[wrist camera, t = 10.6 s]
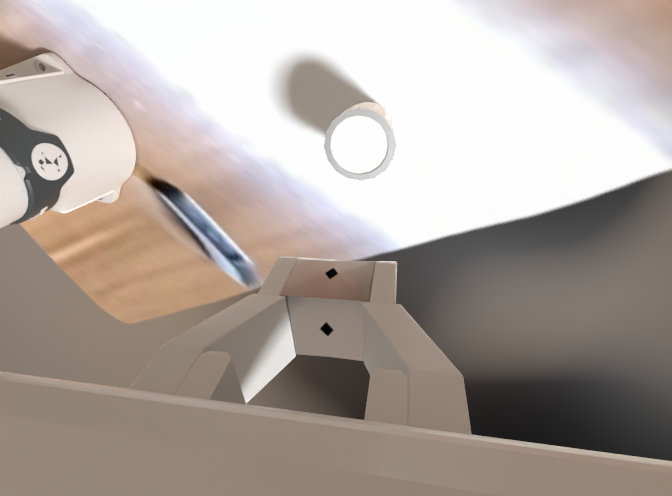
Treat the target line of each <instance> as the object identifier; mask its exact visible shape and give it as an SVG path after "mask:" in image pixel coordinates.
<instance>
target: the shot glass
mask: <svg viewBox="0 0 672 496" xmlns="http://www.w3.org/2000/svg"><path fill="white" fill-rule="evenodd" d="M395 146H396V144H395V138H394V133H393V127H392V122H391V117H390V116H389V114H388V113H387V111H386V109H385V108H383V107H382V106H380V105H379V104H377V103H373V102H362V103H359V104H356V105H354V106H352V107H351V108H349V109H347V110H346V111H344V112H343V113H341V114H340V115H339V116H338V117H336V118H335V119H334V120H332V122H331V124H330V126H329V128H328V130H327V131H326V134H325V144H324V148H325V151H326V155H327V158H328V161H329V162H330V163H331V165H332V166H333V167H334V169H335V170H336V171H337V172H339V173H341V174H342V175H344V176H345V177H347V178H351V179H357V180H364V179H369V178H374V177H375V176H377V175H379V174H380V173H382V172H383V171H385V170H386V168H387V167H388V165H389V164H390V162H391V161H392V159H393V155H394V151H395Z"/></svg>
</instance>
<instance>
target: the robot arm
mask: <svg viewBox="0 0 672 496" xmlns="http://www.w3.org/2000/svg"><path fill="white" fill-rule="evenodd" d="M44 66H45V67H44ZM135 161H136V150H135V144H134V140H133V136H132V133H131V131H130V129H129V126H128V124H127V122H126V121H125V119H124V117H123V116H122V114H121V112H120V111H119V110H118V108H117V107H116V106H115V105H114V103H113V102H112V101H111V100H110V99H109V98H108V97H107V96H106V95H105V94H104V93H103V92H101V91H100V90H99V89H98V88H96V87H95V86H94V85H92V84H90V83H89V82H87V81H85V80H84V79H82V78H81V77H79V76H78V75H76V74H75V73H74V72H73V71H72V70H71V69H70V68H69V66H68V65H67V64H66V63H65V62H64V61H63V60H62V59H61V58H60V57H58V56H57V55H56V54H54V53H51V52H48V53H44V54H40V55H38V56H35V57H33V58H30V59H27V60H25V61H22V62H20V63H17V64H15V65H12V66H10V67H7V68H5V69H2V70H0V228H2V227H4V226H6V225H8V224H18V223H22V222H24V221H26V220H30V219H33V218H35V217H37V216H39V215H41V214H42V213H44V212H45V211H47V210H51V211H56V212H61V213H67V212H70V211H72V210H75V209H77V208H79V207H81V206H83V205H86V204H88V203H90V202H92V201H94V200H96V201H100V202H105V203H112V202H114V201H116V200H117V199H118V197H119V194H120V189H121V186H122V184H123V183H124V182H125V181H126V180H127V179H128V178H129V177H130V175H131V174H132V172H133V169H134V166H135ZM396 277H397V263H396V262H391V261H376V262H374V261H341V260H332V259H318V258H304V257H300V258H299V257H285V256H282V257H280V258H278V260H277V261H276V263H275V265H274V267H273V268H272V270H271V272H270V274H269V275H268V277H267V279H266V280H265V282H264V284H263V286H262V287H261V289H260V291H259V293H258V294H251V295H249V296H248V297H246V298H244V299H242V300H241V301H239V302H237V303H235V304H233V305H232V306H230V307H228V308H226V309H224V310H223V311H221V312H219V313H217V314H216V315H214V316H212V317H210V318H208V319H207V320H205V321H204V322H201V323H200V324H198V325H196V326H194V327H193V328H191V329H189V330H187V331H186V332H184V333H182V334H180V335H178V336H177V337H175V338H173V339H172V340H170V341H168V342H166V343H165V344H163V345H162V346H161V348H160V349H159V350H158V352H157V353H156V354H155V355H154V357H153V358H152V359H151V360H150V362H149V363H148V364H147V366H146V367H145V368H144V370H143V371H142V372H141V373H140V375H139V376H138V377H137V378H136V380H135V381H134V382H133V383H132V385H131V386H130V387H129V388H128V389H126V388H119V387H112V386H104V385H96V384H89V383H81V382H74V381H67V380H58V379H51V378H44V377H37V376H29V375H22V374H14V373H7V372H0V496H672V461H665V460H657V459H649V458H641V457H634V456H627V455H620V454H612V453H605V452H597V451H589V450H582V449H575V448H567V447H560V446H552V445H545V444H537V443H530V442H523V441H515V440H507V439H500V438H493V437H485V436H478V435H471V428H470V421H469V414H468V407H467V400H466V394H465V386H464V379H463V376H462V374H461V373H460V372H459V371H458V370H457V369H456V367H455V366H454V365H453V364H452V363H451V362H450V361H449V360H448V358H447V357H446V356H445V355H444V354H443V353H442V351H441V350H440V349H439V348H438V347H437V346H436V345H435V343H434V342H433V341H432V340H431V339H430V338H429V337H428V335H427V334H426V333H425V332H424V331H423V330H422V328H420V326H419V325H418V324H417V323H416V322H415V320H413V318H412V317H411V316H410V315H409V314H408V312H407V311H406V310H405V309H404V308H403V307H402V306H401V305H400V304H396ZM296 354H301V355H315V356H328V357H336V358H344V359H352V360H360V361H364V364H365V366H366V367H367V370H368V371H369V374H370V375H371V377H370V384H369V391H368V398H367V405H366V413H365V420H358V419H351V418H343V417H335V416H329V415H321V414H314V413H306V412H299V411H291V410H284V409H276V408H268V407H261V406H253V405H246V403H247V402H248V401H249V400H250V399H251V398H253V397H254V396H255V395H256V394H257V393H258V392H259V391H260V390H261V389H262V388H263V387H264V386H265V385H266V384H267V383H268V382H269V381H270V380H271V379H272V378H274V377H275V376H276V375H277V374H278V373H279V372H280V371H281V370H282V369H283V368H284V367H285V366H286V365H287V364H288V363H289V362H290V361H291V360H292V359H293V358H295V356H296Z"/></svg>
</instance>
